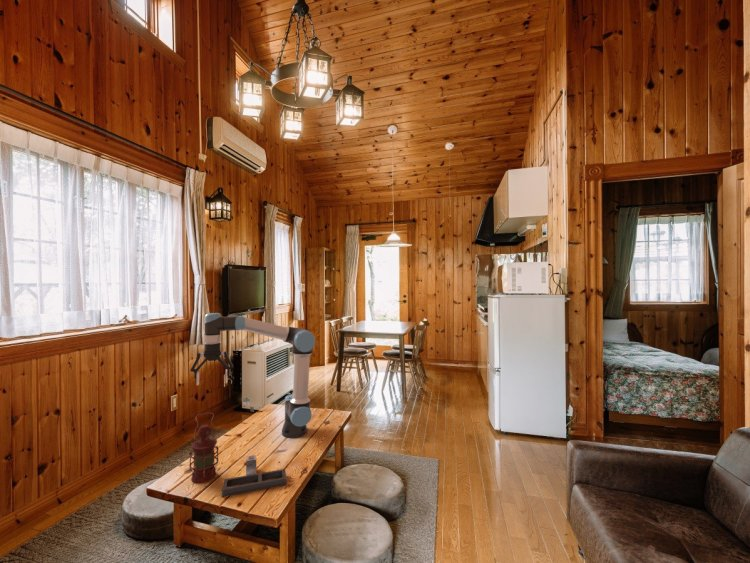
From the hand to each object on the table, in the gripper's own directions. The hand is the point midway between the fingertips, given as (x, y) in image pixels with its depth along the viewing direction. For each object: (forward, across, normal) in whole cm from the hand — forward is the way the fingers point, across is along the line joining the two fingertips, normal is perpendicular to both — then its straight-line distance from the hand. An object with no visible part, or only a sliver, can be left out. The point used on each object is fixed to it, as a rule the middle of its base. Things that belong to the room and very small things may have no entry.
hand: (212, 383), depth 173 cm
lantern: (+39, +1, +17) cm, 43 cm away
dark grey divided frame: (+39, -22, +32) cm, 55 cm away
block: (+39, -20, +20) cm, 48 cm away
